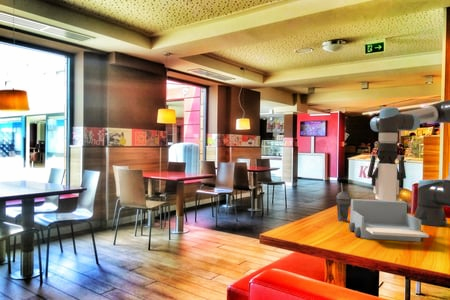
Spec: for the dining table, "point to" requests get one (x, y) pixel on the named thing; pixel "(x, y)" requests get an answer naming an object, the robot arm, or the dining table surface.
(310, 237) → the dining table surface
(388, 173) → the cup
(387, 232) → the tailgate
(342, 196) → the beverage cup
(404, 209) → the truck bed
